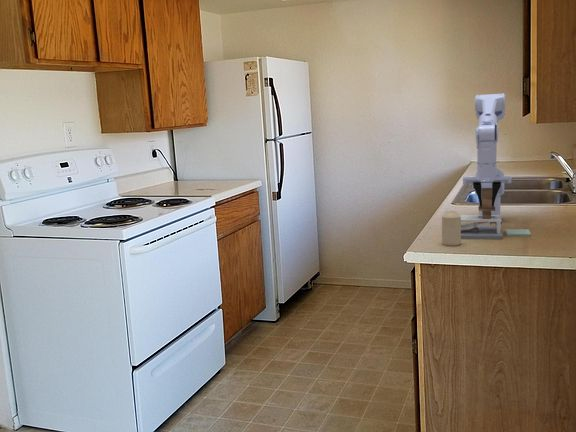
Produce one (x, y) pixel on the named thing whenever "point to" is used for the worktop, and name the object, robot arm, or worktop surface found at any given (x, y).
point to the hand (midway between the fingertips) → (486, 205)
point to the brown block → (486, 203)
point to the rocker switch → (474, 225)
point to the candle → (451, 228)
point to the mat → (518, 232)
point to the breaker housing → (482, 228)
